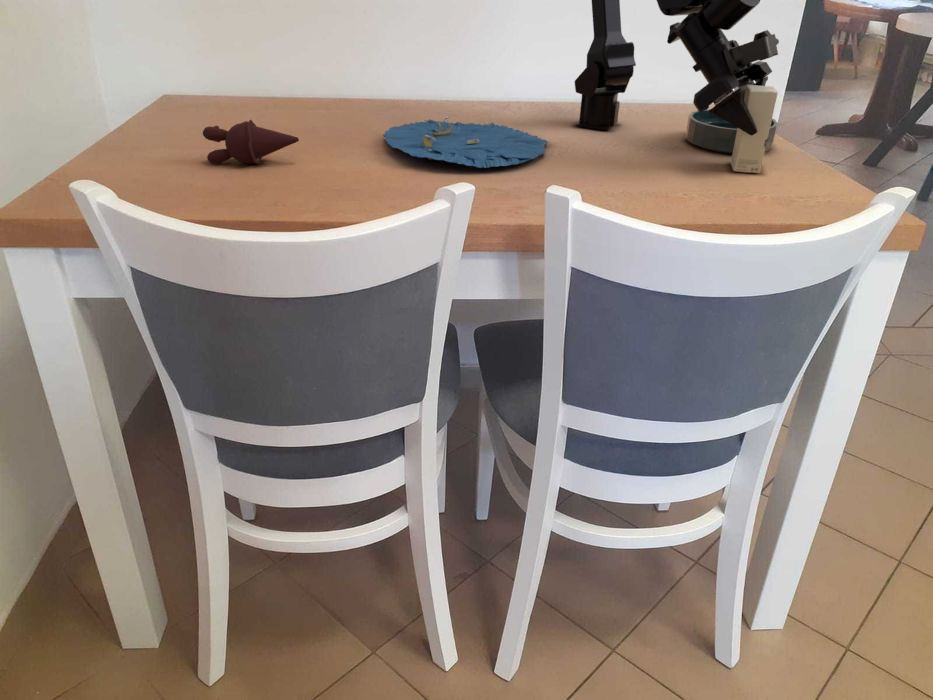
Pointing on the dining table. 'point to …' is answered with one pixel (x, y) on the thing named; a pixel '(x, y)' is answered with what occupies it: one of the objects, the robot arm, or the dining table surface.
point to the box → (753, 147)
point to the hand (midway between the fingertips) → (761, 130)
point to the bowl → (717, 132)
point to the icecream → (246, 142)
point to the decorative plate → (466, 143)
